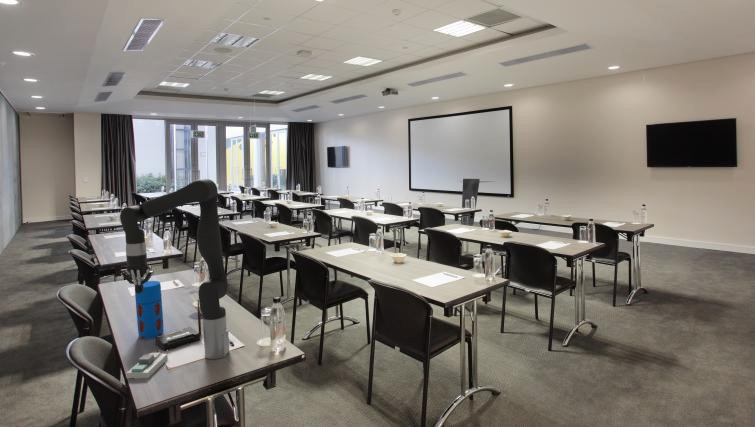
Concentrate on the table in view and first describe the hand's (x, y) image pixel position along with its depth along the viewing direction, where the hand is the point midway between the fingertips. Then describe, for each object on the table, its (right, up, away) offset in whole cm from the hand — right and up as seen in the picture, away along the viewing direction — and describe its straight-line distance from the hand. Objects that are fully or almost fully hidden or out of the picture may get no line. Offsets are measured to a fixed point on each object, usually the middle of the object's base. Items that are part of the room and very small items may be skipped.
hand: (139, 293), depth 183 cm
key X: (+9, -27, -11) cm, 30 cm away
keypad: (+9, -29, -10) cm, 32 cm away
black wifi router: (+11, -26, +16) cm, 32 cm away
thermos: (-7, -24, +23) cm, 34 cm away
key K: (+9, -27, -5) cm, 29 cm away
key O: (+9, -29, -15) cm, 34 cm away
